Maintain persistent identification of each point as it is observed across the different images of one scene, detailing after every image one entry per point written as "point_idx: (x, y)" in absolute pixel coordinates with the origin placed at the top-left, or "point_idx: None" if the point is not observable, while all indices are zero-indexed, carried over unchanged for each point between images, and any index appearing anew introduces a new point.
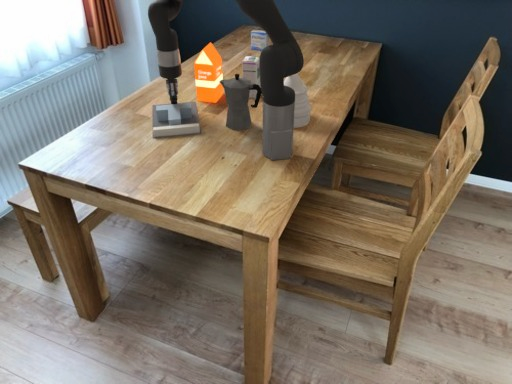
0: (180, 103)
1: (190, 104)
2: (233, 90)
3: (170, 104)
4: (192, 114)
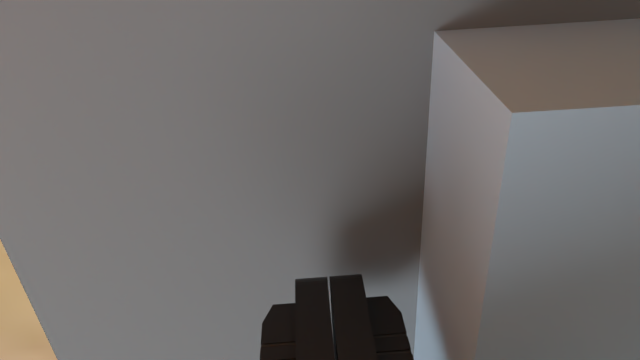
0: (18, 217)
1: (612, 114)
2: None
3: (76, 334)
4: (494, 14)
